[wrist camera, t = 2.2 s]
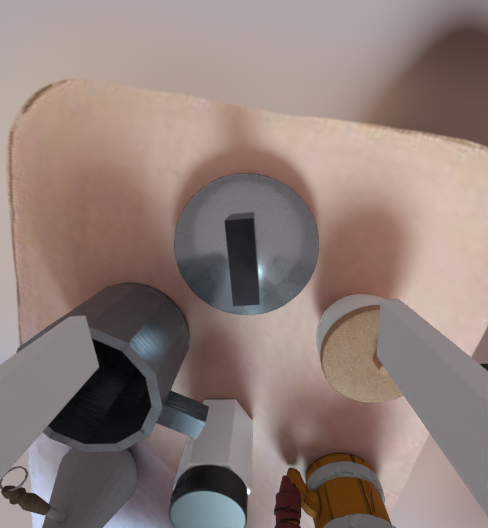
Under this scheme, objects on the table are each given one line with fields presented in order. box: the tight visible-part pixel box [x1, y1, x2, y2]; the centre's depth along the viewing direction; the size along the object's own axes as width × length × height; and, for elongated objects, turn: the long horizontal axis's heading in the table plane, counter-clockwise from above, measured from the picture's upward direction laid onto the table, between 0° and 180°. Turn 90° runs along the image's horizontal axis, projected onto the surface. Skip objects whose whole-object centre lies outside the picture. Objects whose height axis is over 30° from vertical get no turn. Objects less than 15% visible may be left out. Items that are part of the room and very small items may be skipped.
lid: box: [174, 173, 319, 315], centre depth 28 cm, size 16×16×8 cm
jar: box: [169, 399, 253, 528], centre depth 33 cm, size 9×8×12 cm
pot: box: [17, 283, 209, 452], centre depth 30 cm, size 14×18×11 cm
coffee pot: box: [0, 448, 137, 528], centre depth 33 cm, size 21×12×15 cm, turn 177°
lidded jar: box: [317, 294, 403, 403], centre depth 29 cm, size 11×11×9 cm
